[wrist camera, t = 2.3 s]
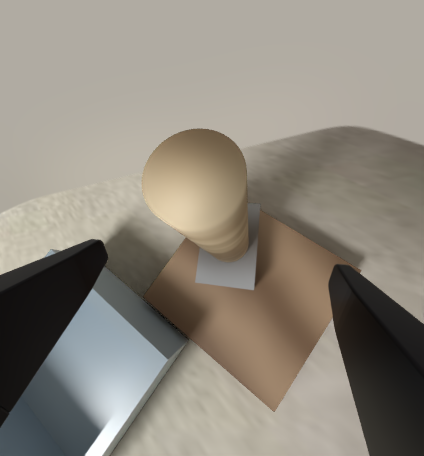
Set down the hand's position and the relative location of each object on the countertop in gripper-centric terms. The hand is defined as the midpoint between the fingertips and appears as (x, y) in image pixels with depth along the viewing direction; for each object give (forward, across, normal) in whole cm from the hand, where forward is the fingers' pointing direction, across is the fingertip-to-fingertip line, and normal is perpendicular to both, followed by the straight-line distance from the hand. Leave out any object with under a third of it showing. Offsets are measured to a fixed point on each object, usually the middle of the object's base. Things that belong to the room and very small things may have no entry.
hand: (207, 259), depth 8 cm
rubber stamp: (+7, 0, +5) cm, 9 cm away
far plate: (+6, -1, +8) cm, 10 cm away
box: (+1, +11, +13) cm, 17 cm away
